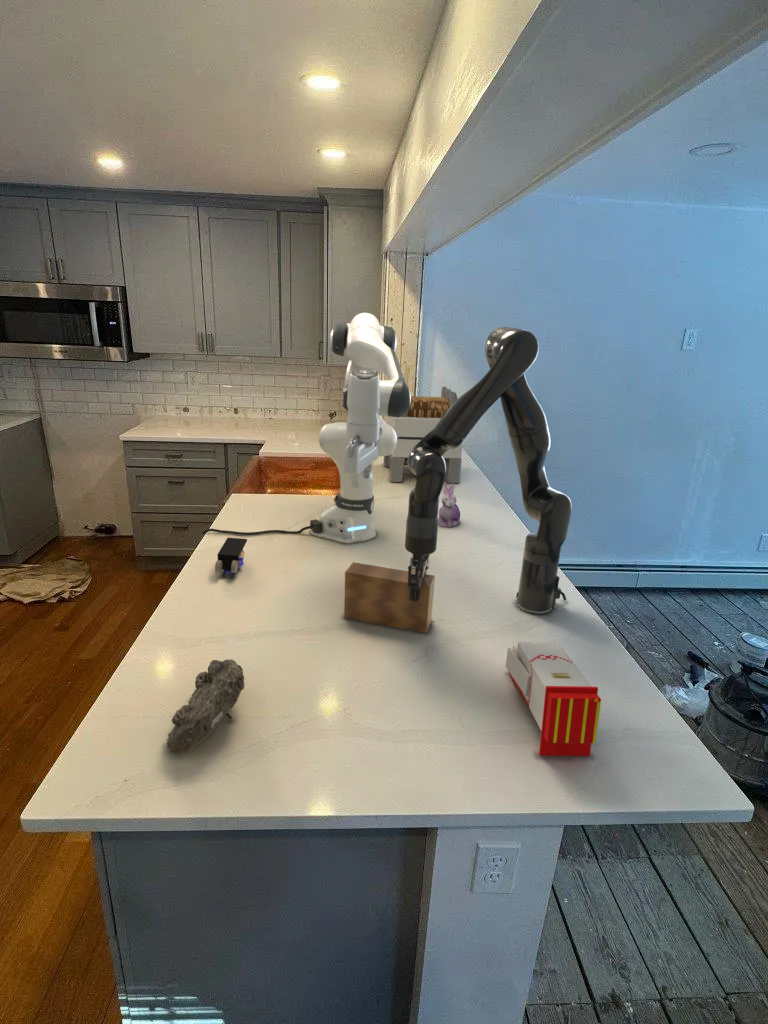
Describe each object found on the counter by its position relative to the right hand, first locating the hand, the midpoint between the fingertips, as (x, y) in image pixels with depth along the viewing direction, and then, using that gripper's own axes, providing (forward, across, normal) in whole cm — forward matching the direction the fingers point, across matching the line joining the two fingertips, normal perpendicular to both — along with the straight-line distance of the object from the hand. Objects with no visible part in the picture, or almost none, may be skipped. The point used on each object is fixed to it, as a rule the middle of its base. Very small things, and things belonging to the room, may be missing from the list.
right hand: (417, 593), depth 140 cm
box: (+9, 0, +7) cm, 11 cm away
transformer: (+9, +137, +30) cm, 141 cm away
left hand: (-21, +19, +22) cm, 36 cm away
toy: (+9, -22, -32) cm, 40 cm away
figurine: (+9, +75, +4) cm, 75 cm away
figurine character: (+9, +11, +58) cm, 60 cm away
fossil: (+9, -46, +29) cm, 55 cm away
